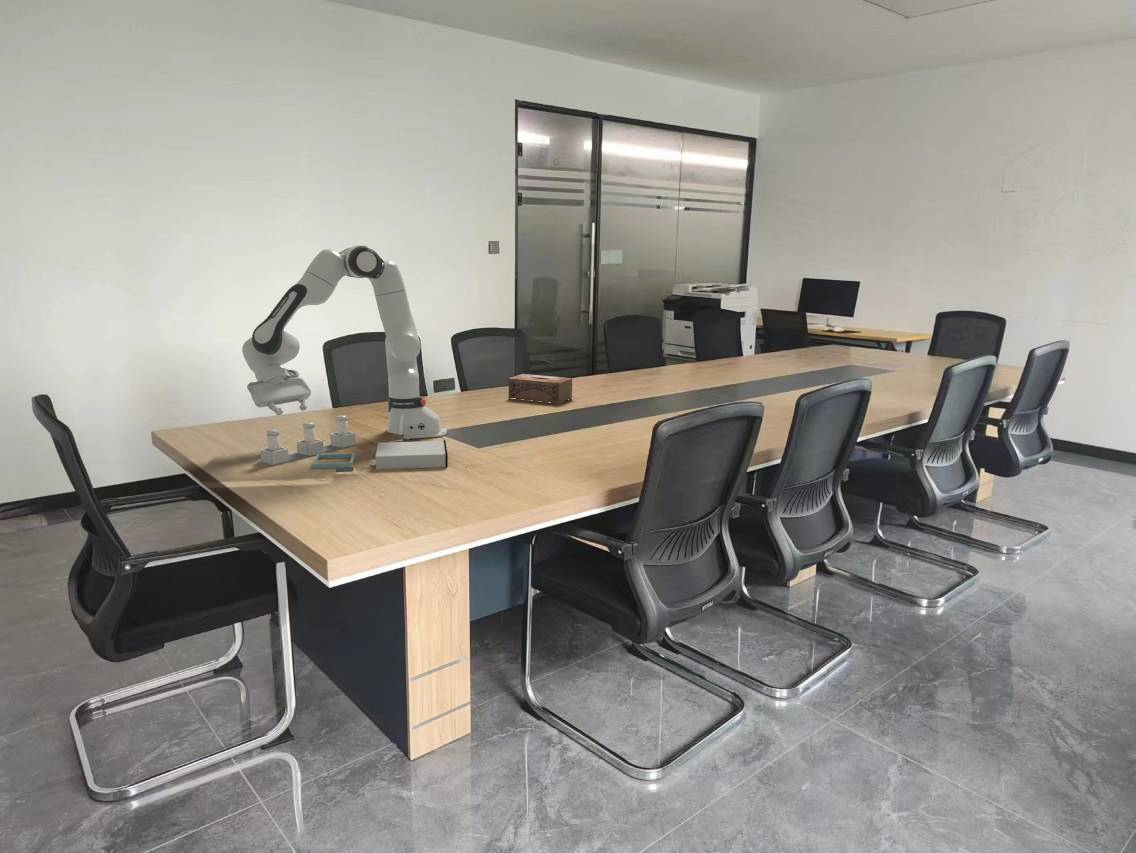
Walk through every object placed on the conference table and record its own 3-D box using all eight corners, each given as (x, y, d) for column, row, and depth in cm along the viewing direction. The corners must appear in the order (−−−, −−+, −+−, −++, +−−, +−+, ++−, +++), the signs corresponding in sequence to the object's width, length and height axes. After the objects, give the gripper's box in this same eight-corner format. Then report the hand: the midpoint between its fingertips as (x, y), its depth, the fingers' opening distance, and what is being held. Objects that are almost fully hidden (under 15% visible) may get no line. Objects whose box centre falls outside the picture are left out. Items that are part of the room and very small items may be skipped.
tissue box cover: (571, 399, 364) (572, 378, 362) (559, 404, 351) (559, 383, 349) (522, 394, 374) (522, 373, 372) (508, 399, 361) (508, 378, 359)
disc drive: (448, 468, 250) (447, 453, 249) (376, 470, 246) (375, 455, 245) (446, 454, 267) (445, 439, 266) (378, 456, 263) (378, 441, 262)
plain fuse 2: (349, 443, 271) (348, 415, 269) (348, 445, 267) (347, 417, 265) (338, 443, 270) (336, 415, 268) (336, 446, 267) (335, 417, 264)
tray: (355, 461, 254) (355, 453, 254) (352, 471, 243) (351, 463, 242) (317, 462, 252) (316, 454, 252) (312, 472, 241) (311, 464, 240)
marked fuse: (317, 451, 260) (315, 421, 258) (315, 453, 257) (313, 424, 254) (305, 451, 260) (303, 422, 257) (303, 454, 256) (301, 424, 254)
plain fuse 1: (282, 459, 249) (280, 429, 247) (280, 462, 246) (278, 431, 244) (269, 459, 249) (267, 429, 247) (267, 463, 245) (265, 432, 243)
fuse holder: (257, 466, 246) (256, 449, 245) (346, 445, 274) (345, 429, 273) (270, 470, 242) (269, 453, 241) (359, 448, 271) (358, 432, 269)
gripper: (248, 377, 253) (268, 411, 250) (301, 370, 269) (321, 401, 266) (241, 389, 257) (261, 422, 253) (294, 381, 273) (313, 412, 270)
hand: (292, 411), depth 260 cm, fingers open, 8 cm apart
